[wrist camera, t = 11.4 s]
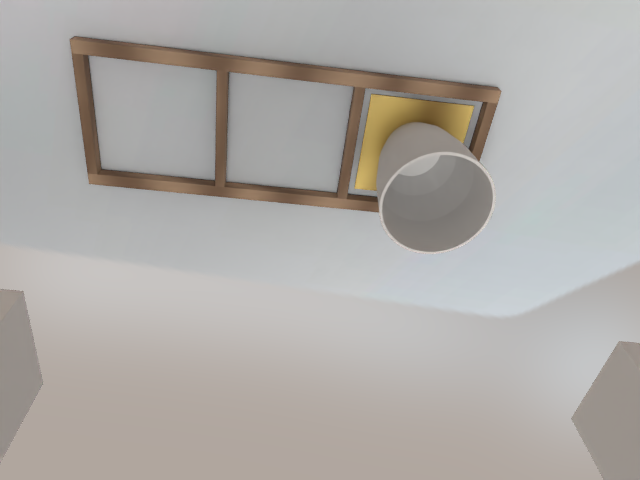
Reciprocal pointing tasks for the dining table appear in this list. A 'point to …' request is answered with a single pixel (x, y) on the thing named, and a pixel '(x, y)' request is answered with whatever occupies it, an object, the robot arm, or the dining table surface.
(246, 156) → the dining table surface
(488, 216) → the cup
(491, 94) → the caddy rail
